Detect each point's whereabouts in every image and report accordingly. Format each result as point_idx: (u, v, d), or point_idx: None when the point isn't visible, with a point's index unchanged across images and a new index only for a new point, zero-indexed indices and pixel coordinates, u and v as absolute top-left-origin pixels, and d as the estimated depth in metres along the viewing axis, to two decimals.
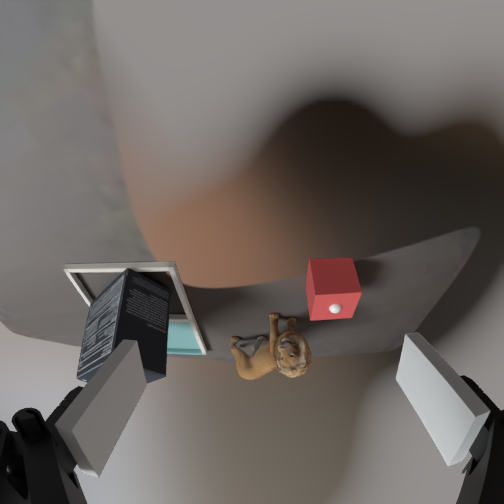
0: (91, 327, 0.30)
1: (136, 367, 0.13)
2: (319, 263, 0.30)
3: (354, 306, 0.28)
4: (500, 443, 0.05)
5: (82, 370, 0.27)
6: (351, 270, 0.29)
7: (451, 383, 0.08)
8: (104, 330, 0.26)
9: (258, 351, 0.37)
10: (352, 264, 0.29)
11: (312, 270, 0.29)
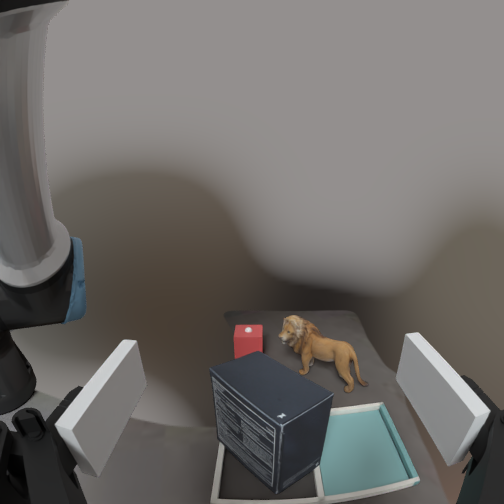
0: (257, 452, 0.22)
1: (136, 367, 0.13)
2: None
3: (249, 325, 0.51)
4: (500, 443, 0.05)
5: (261, 416, 0.21)
6: None
7: (451, 383, 0.08)
8: (227, 413, 0.25)
9: (323, 358, 0.40)
10: None
11: None
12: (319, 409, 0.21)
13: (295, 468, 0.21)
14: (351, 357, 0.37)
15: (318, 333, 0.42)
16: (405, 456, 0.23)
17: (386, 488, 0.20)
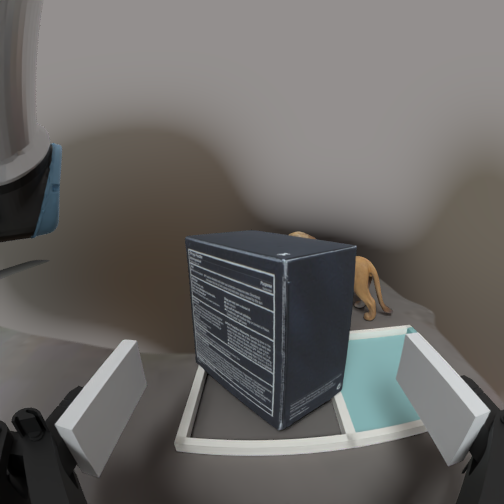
0: (248, 351, 0.17)
1: (136, 367, 0.13)
2: None
3: None
4: (500, 443, 0.05)
5: (252, 264, 0.15)
6: None
7: (451, 383, 0.08)
8: (206, 299, 0.20)
9: None
10: None
11: None
12: (339, 263, 0.16)
13: (309, 379, 0.16)
14: (370, 272, 0.32)
15: None
16: None
17: None
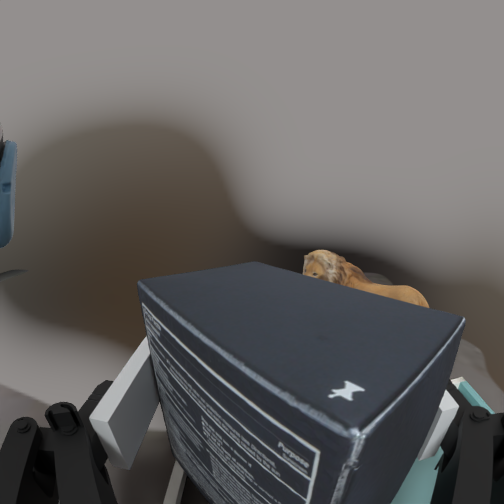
0: None
1: None
2: None
3: None
4: (471, 440, 0.06)
5: (257, 400, 0.05)
6: None
7: None
8: (174, 397, 0.10)
9: None
10: None
11: None
12: (444, 366, 0.06)
13: None
14: None
15: (362, 276, 0.26)
16: None
17: None
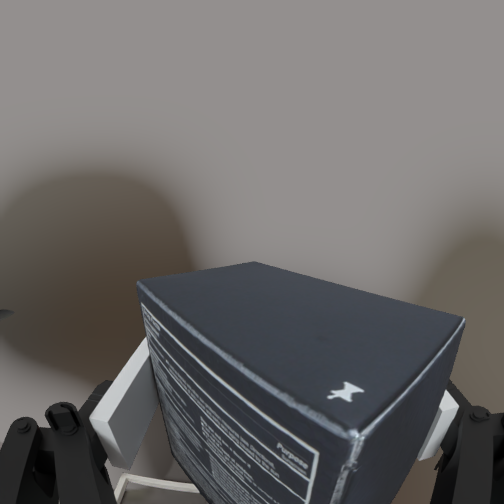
0: None
1: None
2: None
3: None
4: (471, 440, 0.06)
5: (256, 401, 0.05)
6: None
7: None
8: (173, 397, 0.10)
9: None
10: None
11: None
12: (444, 367, 0.06)
13: None
14: None
15: None
16: None
17: None
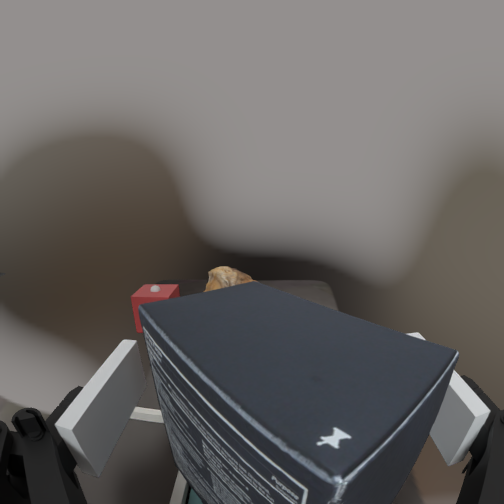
0: None
1: (136, 367, 0.13)
2: None
3: (161, 284, 0.36)
4: (500, 443, 0.05)
5: (252, 439, 0.05)
6: None
7: (451, 383, 0.08)
8: (176, 417, 0.10)
9: None
10: None
11: (135, 320, 0.32)
12: (433, 402, 0.06)
13: None
14: None
15: None
16: None
17: None
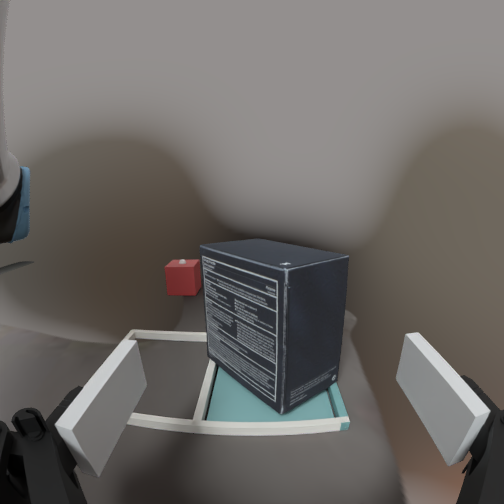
0: (255, 345, 0.20)
1: (136, 367, 0.13)
2: None
3: (186, 260, 0.48)
4: (500, 443, 0.05)
5: (259, 271, 0.18)
6: None
7: (451, 383, 0.08)
8: (218, 300, 0.23)
9: None
10: None
11: None
12: (333, 270, 0.19)
13: (307, 369, 0.19)
14: None
15: None
16: (332, 388, 0.21)
17: (294, 424, 0.17)
